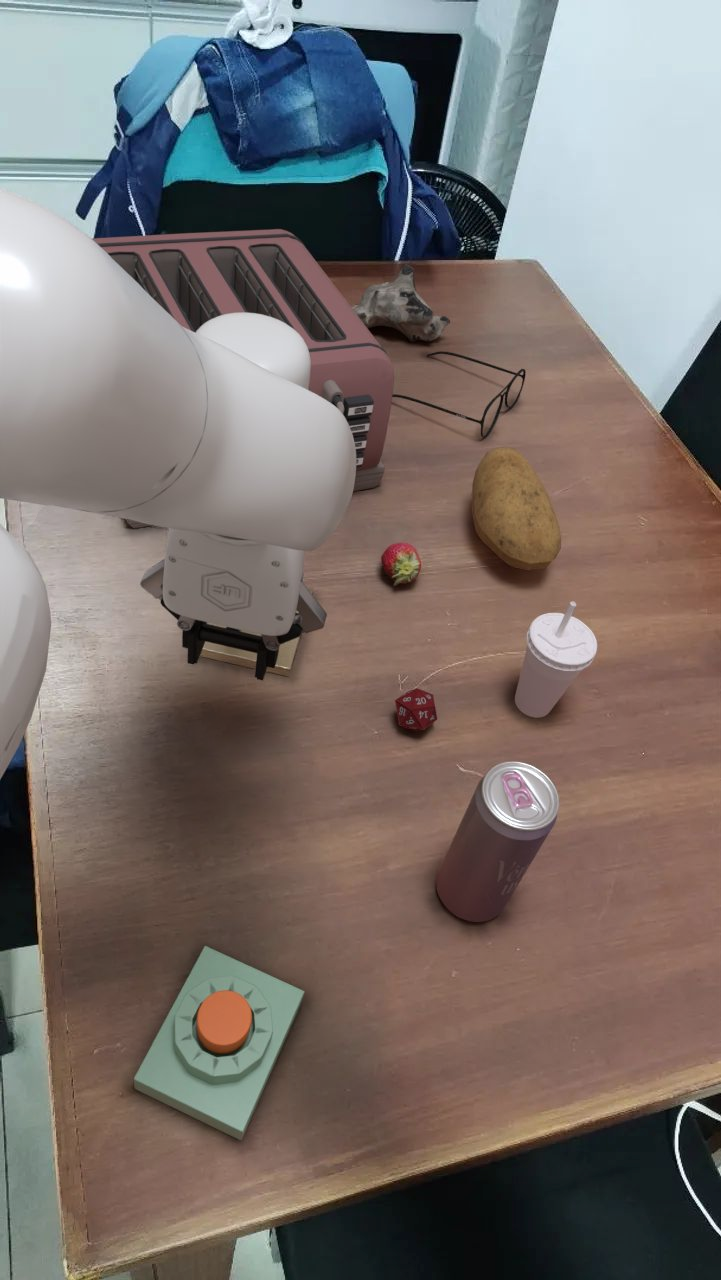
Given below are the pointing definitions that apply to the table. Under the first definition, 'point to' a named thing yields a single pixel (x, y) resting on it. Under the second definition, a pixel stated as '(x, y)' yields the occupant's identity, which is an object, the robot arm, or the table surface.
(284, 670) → the bracket
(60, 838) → the table surface
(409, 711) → the dice
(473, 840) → the beverage can
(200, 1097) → the button block
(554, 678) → the smoothie
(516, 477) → the potato
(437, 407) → the glasses
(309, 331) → the toaster
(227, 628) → the lever
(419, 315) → the decorative stone
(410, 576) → the fruit
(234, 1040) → the button
